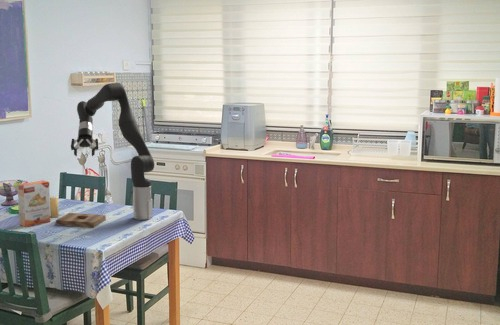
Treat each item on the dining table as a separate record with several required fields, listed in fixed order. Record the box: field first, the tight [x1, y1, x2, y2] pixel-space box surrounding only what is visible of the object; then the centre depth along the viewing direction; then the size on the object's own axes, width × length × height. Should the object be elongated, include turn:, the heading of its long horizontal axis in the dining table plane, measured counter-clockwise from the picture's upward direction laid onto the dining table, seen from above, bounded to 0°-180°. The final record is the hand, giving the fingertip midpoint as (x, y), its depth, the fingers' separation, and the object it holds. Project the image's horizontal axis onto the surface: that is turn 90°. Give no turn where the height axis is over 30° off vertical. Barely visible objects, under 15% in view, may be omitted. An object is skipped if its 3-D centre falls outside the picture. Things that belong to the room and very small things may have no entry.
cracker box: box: [17, 179, 51, 228], centre depth 274 cm, size 14×6×21 cm, turn 143°
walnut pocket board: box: [55, 212, 107, 228], centre depth 279 cm, size 20×14×2 cm
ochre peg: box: [50, 196, 60, 219], centre depth 288 cm, size 4×4×10 cm
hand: (84, 155), depth 296 cm, fingers open, 8 cm apart
